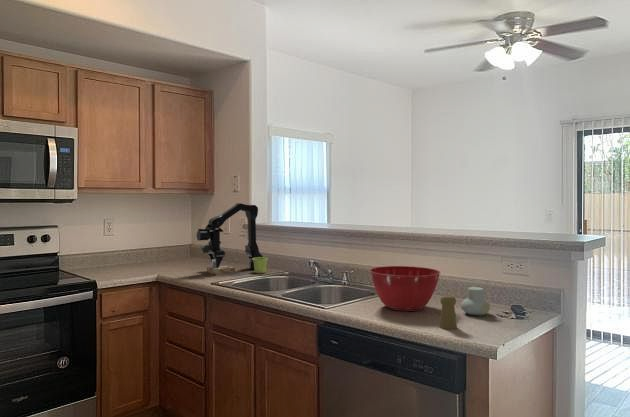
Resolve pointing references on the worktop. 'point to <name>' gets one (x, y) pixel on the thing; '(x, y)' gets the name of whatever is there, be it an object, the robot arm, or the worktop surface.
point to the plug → (213, 264)
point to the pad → (237, 273)
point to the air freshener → (475, 302)
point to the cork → (448, 312)
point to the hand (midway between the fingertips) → (215, 266)
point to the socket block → (221, 270)
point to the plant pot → (260, 264)
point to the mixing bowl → (404, 286)
